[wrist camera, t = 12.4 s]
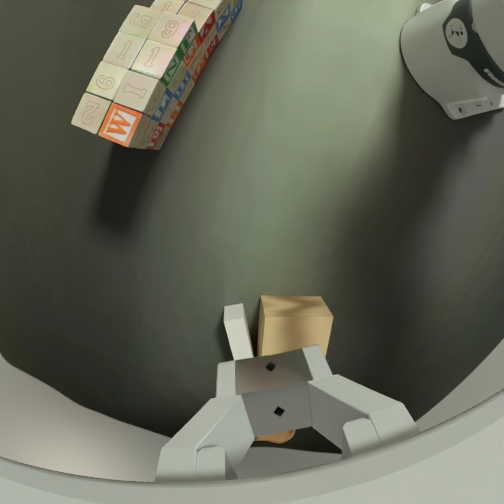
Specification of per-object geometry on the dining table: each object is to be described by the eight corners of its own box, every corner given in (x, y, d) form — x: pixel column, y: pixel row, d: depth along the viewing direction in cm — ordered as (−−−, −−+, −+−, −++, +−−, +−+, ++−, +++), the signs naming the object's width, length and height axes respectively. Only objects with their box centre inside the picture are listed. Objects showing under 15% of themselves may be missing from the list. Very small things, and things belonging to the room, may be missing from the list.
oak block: (320, 295, 41) (333, 316, 35) (310, 357, 43) (319, 382, 38) (260, 294, 40) (265, 316, 34) (255, 357, 43) (258, 384, 37)
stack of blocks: (199, -8, 28) (188, -62, 17) (243, 7, 29) (247, -46, 18) (116, 133, 33) (68, 124, 21) (160, 152, 34) (125, 148, 22)
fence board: (242, 303, 40) (243, 317, 36) (260, 378, 44) (262, 396, 40) (224, 306, 40) (223, 321, 36) (244, 381, 44) (245, 399, 40)
